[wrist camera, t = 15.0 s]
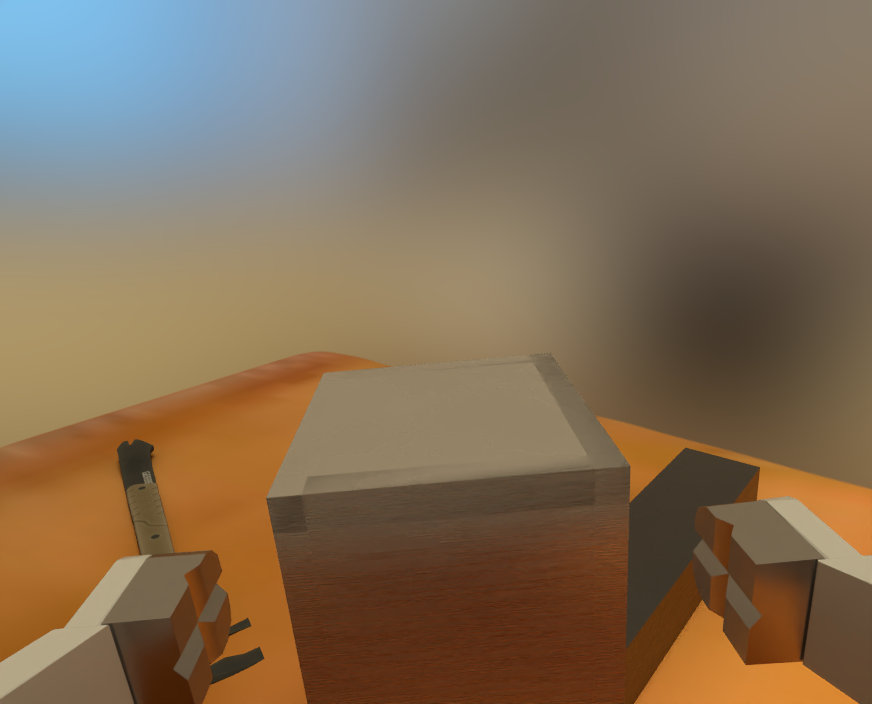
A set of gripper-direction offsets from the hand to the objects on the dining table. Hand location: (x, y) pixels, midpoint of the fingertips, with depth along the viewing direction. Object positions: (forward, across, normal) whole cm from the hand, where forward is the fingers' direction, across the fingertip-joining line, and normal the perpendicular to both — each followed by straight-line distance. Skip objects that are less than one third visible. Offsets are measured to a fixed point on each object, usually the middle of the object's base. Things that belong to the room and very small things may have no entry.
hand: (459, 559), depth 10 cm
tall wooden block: (+2, 0, +6) cm, 6 cm away
